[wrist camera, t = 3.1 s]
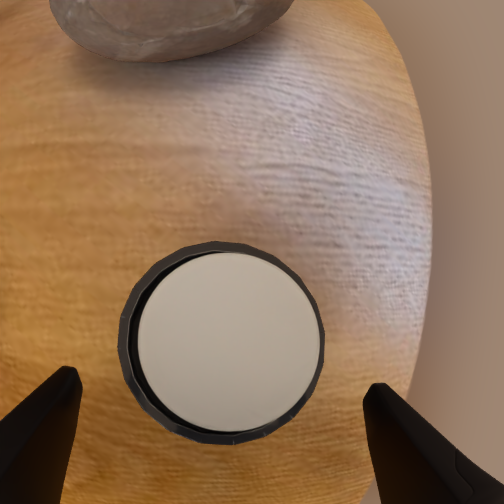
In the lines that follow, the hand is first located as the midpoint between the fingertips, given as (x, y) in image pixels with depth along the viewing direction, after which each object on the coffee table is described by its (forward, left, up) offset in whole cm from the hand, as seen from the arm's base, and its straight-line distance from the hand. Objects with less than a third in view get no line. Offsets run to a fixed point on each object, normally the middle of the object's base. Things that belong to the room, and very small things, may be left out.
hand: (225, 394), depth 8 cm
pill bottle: (+1, 0, -9) cm, 9 cm away
